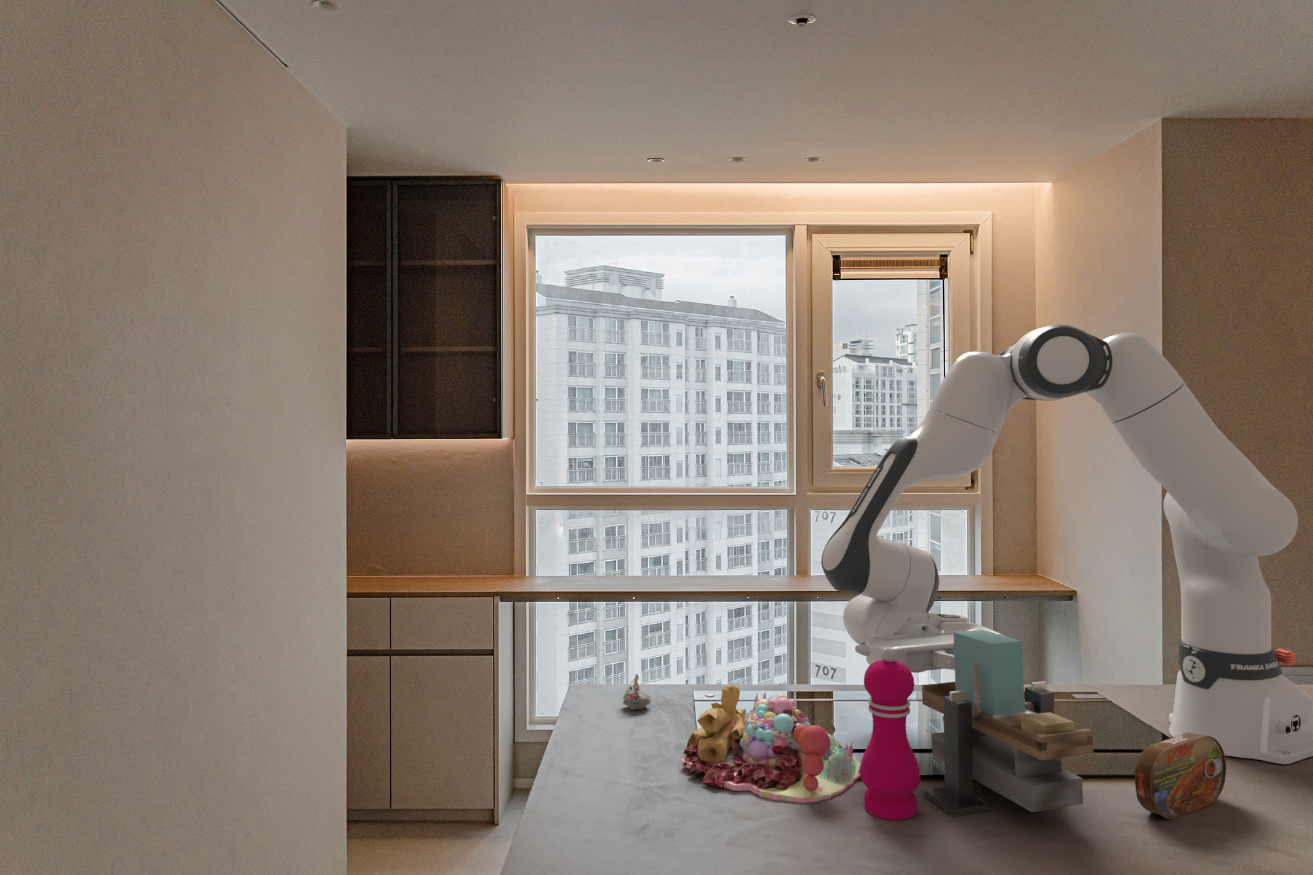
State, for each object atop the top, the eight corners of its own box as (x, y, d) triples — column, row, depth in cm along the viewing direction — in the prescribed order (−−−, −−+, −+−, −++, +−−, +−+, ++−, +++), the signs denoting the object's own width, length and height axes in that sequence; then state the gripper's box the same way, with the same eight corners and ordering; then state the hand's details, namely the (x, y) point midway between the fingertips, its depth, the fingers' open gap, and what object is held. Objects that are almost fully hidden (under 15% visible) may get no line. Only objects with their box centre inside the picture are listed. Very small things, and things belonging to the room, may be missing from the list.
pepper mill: (923, 824, 103) (921, 657, 102) (861, 819, 104) (859, 654, 104) (917, 798, 110) (916, 641, 109) (859, 794, 111) (857, 639, 111)
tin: (1154, 826, 102) (1154, 755, 101) (1129, 816, 104) (1128, 746, 104) (1229, 798, 108) (1229, 732, 108) (1203, 789, 111) (1203, 724, 111)
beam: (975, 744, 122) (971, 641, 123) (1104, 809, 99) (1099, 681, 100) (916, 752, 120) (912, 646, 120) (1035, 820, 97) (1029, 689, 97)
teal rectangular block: (985, 704, 116) (982, 629, 116) (1025, 721, 108) (1021, 640, 108) (956, 707, 115) (953, 632, 115) (994, 725, 107) (991, 643, 107)
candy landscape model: (658, 785, 116) (657, 717, 116) (711, 726, 138) (710, 668, 138) (847, 813, 107) (846, 739, 107) (872, 745, 129) (871, 683, 129)
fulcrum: (1043, 777, 115) (1042, 673, 115) (1076, 796, 110) (1075, 686, 109) (924, 795, 111) (922, 686, 110) (951, 816, 105) (950, 701, 105)
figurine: (654, 706, 147) (654, 672, 147) (645, 714, 143) (644, 680, 143) (627, 703, 149) (626, 670, 149) (617, 711, 145) (616, 677, 145)
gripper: (849, 624, 126) (899, 648, 113) (971, 614, 132) (1033, 635, 118) (849, 667, 126) (900, 696, 113) (971, 655, 132) (1033, 681, 118)
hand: (969, 665), depth 116 cm, fingers closed, pressing on teal rectangular block
